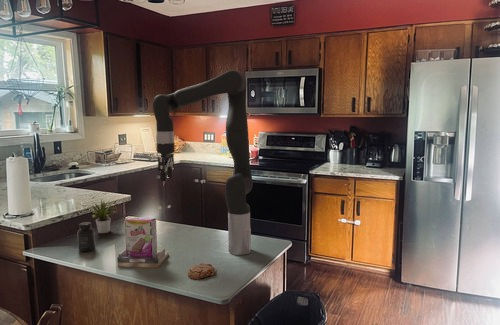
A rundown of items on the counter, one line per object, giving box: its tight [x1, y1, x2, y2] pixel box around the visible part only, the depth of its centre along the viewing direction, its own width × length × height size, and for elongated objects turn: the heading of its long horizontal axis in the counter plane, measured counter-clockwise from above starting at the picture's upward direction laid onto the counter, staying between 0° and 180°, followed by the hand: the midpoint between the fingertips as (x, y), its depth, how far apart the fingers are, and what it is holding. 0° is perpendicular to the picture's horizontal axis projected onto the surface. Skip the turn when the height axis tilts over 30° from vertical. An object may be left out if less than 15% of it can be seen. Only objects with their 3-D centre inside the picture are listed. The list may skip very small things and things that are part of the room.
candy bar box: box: [124, 216, 158, 258], centre depth 150 cm, size 11×5×16 cm, turn 80°
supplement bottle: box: [77, 221, 96, 253], centre depth 164 cm, size 7×7×12 cm
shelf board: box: [116, 247, 169, 268], centre depth 152 cm, size 16×13×4 cm
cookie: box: [187, 263, 216, 280], centre depth 140 cm, size 10×11×3 cm
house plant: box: [88, 199, 117, 234], centre depth 188 cm, size 14×14×16 cm
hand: (166, 179), depth 165 cm, fingers open, 8 cm apart
